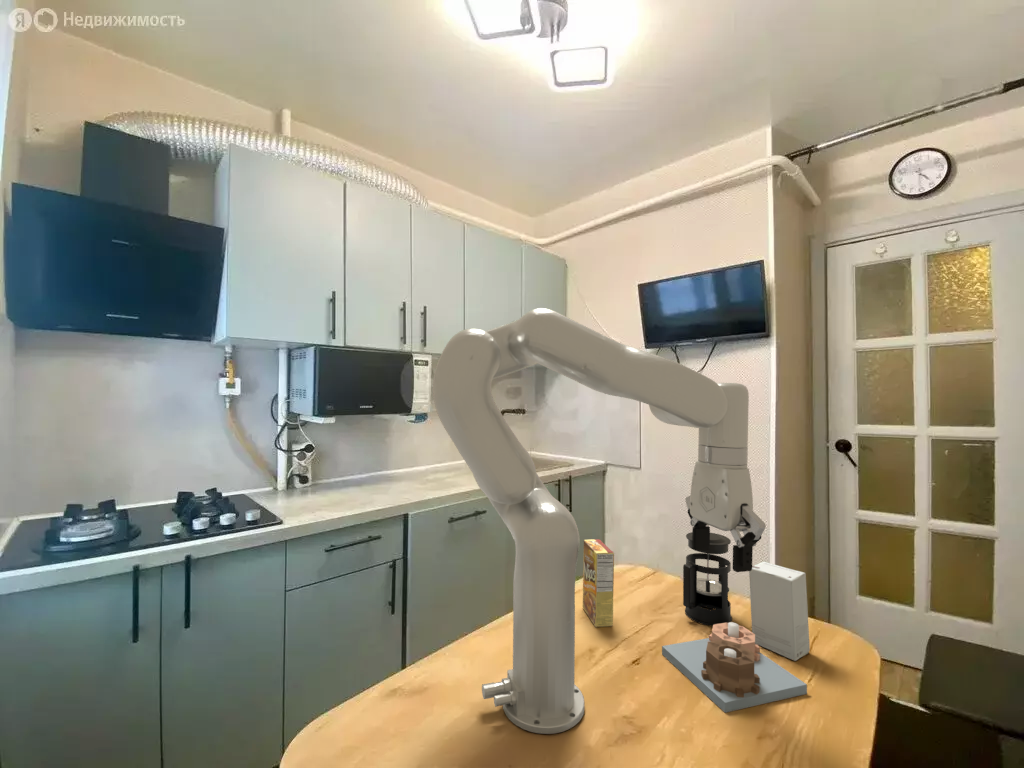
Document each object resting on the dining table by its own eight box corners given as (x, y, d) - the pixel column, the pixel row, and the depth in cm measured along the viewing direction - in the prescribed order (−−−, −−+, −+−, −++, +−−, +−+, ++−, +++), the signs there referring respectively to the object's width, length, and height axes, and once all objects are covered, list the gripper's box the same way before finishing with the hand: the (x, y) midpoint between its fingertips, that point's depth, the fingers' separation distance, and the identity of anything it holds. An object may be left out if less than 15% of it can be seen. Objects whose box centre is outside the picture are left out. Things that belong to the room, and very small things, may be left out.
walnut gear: (727, 701, 70) (727, 671, 70) (691, 668, 78) (691, 641, 78) (772, 691, 72) (772, 662, 72) (732, 660, 80) (732, 634, 80)
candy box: (581, 607, 103) (582, 539, 103) (599, 606, 103) (600, 538, 104) (595, 628, 94) (595, 553, 94) (614, 626, 95) (615, 552, 95)
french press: (708, 601, 106) (708, 502, 106) (743, 620, 98) (743, 512, 98) (669, 611, 101) (670, 507, 101) (703, 632, 93) (704, 518, 93)
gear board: (724, 712, 69) (724, 672, 69) (661, 654, 85) (662, 621, 85) (808, 693, 74) (808, 656, 74) (734, 641, 89) (734, 610, 89)
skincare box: (810, 653, 85) (810, 573, 86) (794, 663, 82) (794, 580, 82) (764, 633, 92) (764, 559, 93) (748, 641, 89) (748, 565, 89)
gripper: (671, 450, 84) (669, 544, 83) (742, 465, 67) (740, 582, 67) (706, 450, 86) (704, 541, 85) (783, 464, 69) (781, 578, 69)
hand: (720, 559), depth 76 cm, fingers open, 9 cm apart
